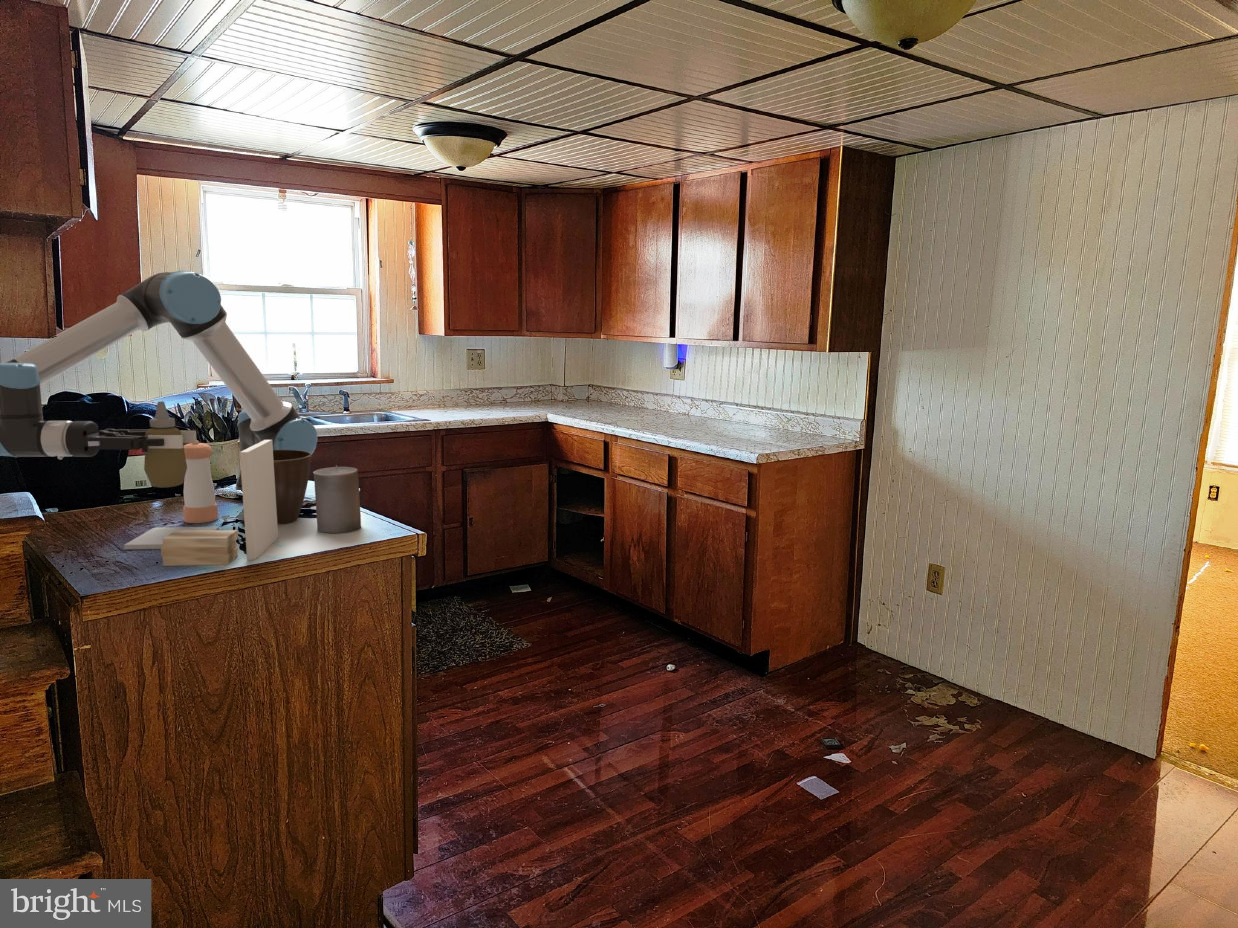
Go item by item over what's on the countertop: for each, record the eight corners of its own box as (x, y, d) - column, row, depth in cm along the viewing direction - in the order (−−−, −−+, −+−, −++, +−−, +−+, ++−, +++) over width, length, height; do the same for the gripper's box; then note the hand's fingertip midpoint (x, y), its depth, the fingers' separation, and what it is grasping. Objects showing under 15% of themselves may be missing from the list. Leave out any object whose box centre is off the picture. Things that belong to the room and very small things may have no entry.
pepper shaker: (219, 514, 199) (213, 437, 196) (216, 521, 192) (210, 442, 189) (186, 517, 196) (179, 438, 193) (182, 524, 190) (175, 443, 186)
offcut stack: (175, 556, 165) (173, 530, 164) (240, 555, 167) (238, 529, 166) (161, 565, 159) (158, 539, 158) (228, 564, 160) (226, 538, 159)
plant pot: (325, 514, 201) (322, 450, 198) (296, 529, 187) (292, 461, 184) (268, 511, 203) (264, 448, 200) (234, 527, 188) (229, 459, 185)
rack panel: (271, 538, 179) (264, 439, 175) (278, 538, 180) (272, 439, 176) (247, 559, 164) (239, 452, 160) (254, 559, 164) (247, 452, 160)
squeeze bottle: (139, 485, 174) (132, 401, 171) (179, 480, 180) (173, 399, 177) (153, 490, 169) (147, 404, 166) (194, 485, 175) (188, 402, 172)
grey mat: (154, 531, 183) (154, 527, 183) (219, 530, 185) (219, 526, 184) (124, 549, 169) (124, 544, 169) (195, 548, 171) (195, 543, 171)
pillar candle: (356, 521, 195) (353, 459, 192) (365, 530, 187) (361, 466, 184) (314, 526, 191) (309, 463, 188) (320, 535, 182) (316, 470, 179)
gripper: (98, 449, 181) (207, 449, 183) (48, 464, 162) (171, 464, 164) (95, 415, 179) (205, 416, 182) (44, 427, 160) (168, 427, 163)
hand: (188, 439), depth 173 cm, fingers closed on squeeze bottle, 6 cm apart
